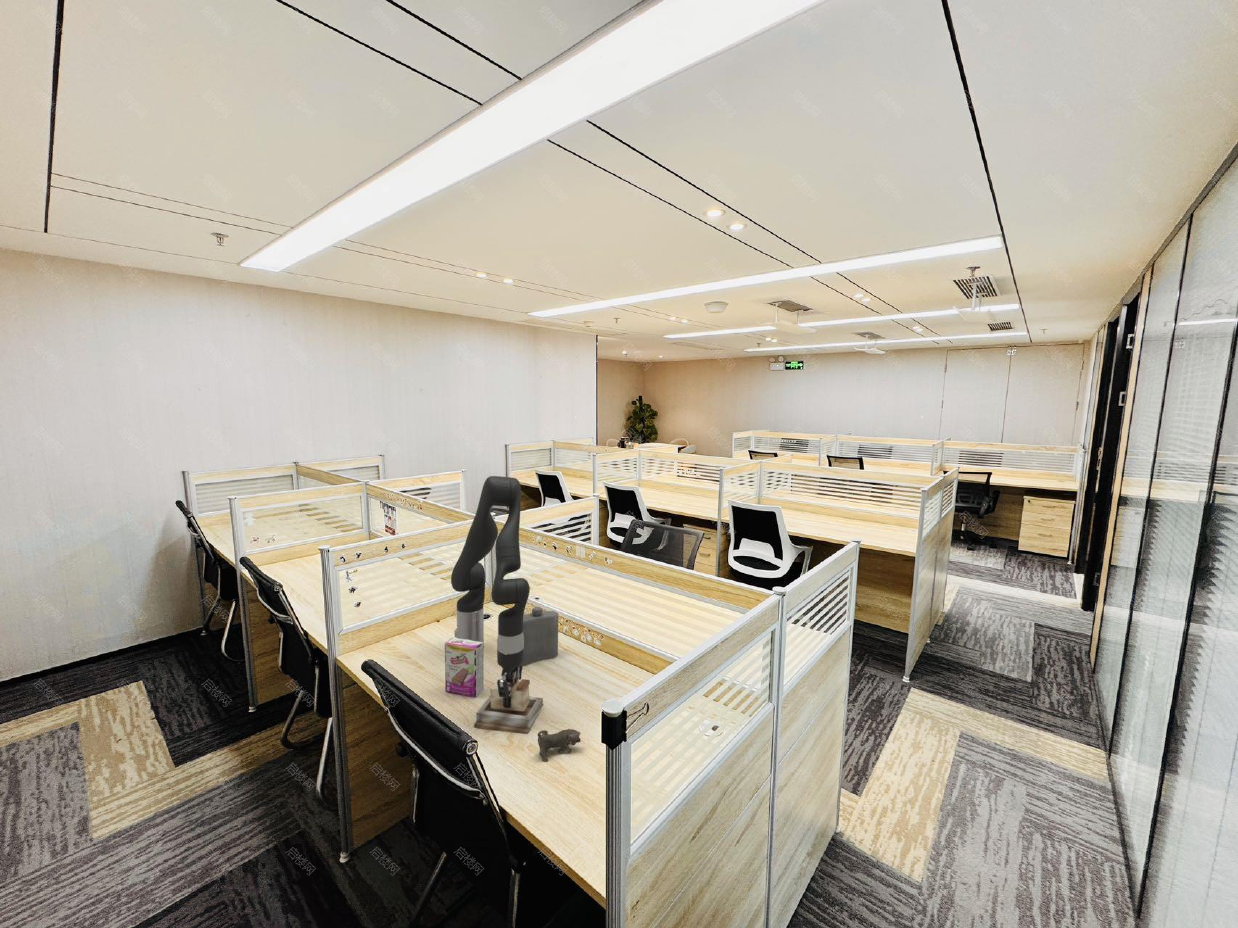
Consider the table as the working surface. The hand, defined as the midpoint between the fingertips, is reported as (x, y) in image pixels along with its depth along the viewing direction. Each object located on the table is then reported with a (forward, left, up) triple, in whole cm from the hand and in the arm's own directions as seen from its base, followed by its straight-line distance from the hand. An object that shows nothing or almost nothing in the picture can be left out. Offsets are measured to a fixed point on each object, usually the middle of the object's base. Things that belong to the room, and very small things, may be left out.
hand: (510, 701), depth 148 cm
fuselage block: (0, 0, -1) cm, 1 cm away
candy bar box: (-19, +9, -5) cm, 22 cm away
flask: (-3, +31, -5) cm, 32 cm away
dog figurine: (+19, -12, -5) cm, 23 cm away
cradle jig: (0, 0, -5) cm, 5 cm away
